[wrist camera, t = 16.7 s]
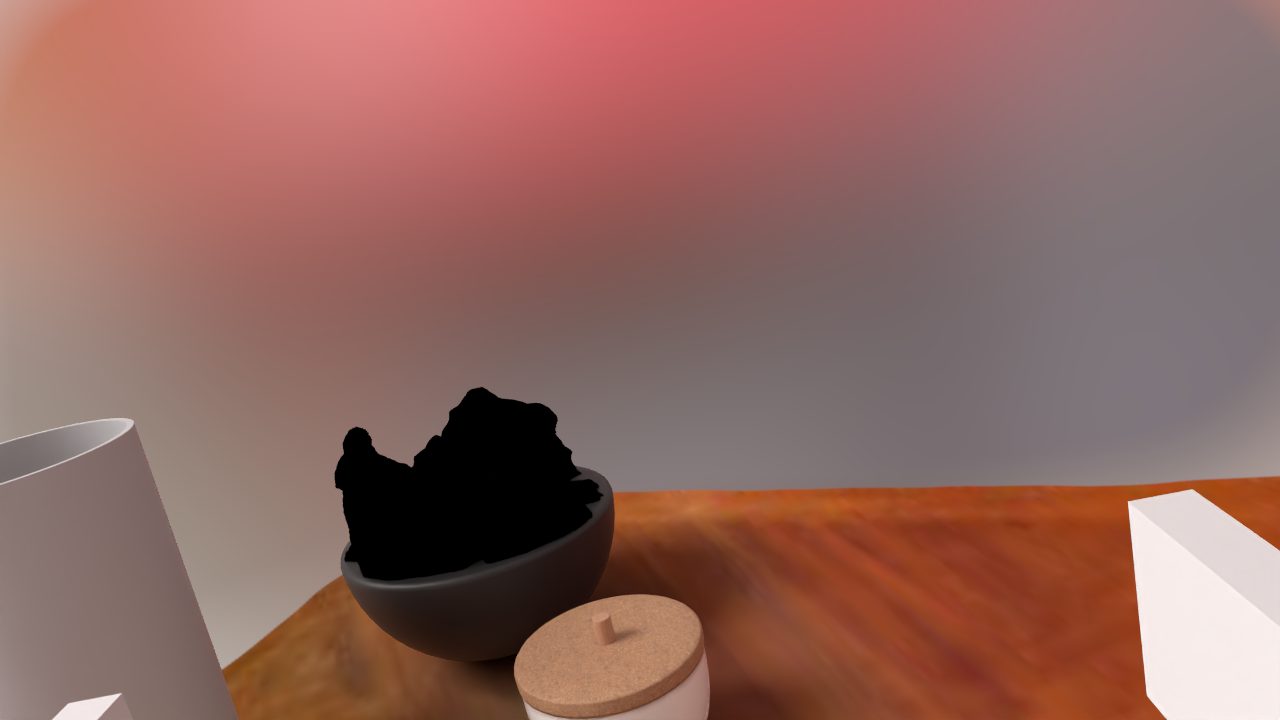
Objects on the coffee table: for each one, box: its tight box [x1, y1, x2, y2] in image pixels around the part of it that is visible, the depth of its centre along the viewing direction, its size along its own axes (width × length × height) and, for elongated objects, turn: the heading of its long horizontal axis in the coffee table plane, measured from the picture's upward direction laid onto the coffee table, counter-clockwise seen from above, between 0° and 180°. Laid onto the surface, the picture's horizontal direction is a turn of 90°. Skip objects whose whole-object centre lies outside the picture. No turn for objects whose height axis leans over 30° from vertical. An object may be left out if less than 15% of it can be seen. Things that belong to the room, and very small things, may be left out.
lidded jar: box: [514, 594, 710, 720], centre depth 52 cm, size 11×11×9 cm
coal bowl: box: [335, 387, 615, 661], centre depth 67 cm, size 20×20×19 cm
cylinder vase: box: [0, 418, 239, 720], centre depth 50 cm, size 12×12×25 cm
